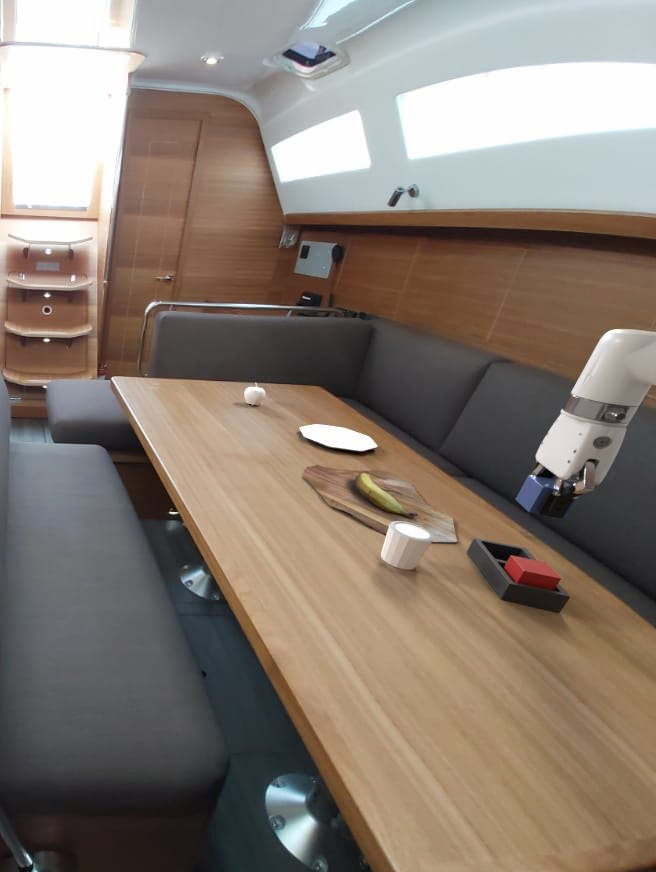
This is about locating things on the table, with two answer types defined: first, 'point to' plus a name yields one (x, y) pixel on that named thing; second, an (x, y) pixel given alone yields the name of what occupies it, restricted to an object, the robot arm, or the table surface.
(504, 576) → the tray
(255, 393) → the plain white apple
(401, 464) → the table surface
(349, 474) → the cutting board
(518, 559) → the red block
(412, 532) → the white cup
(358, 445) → the plate
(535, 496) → the blue block
